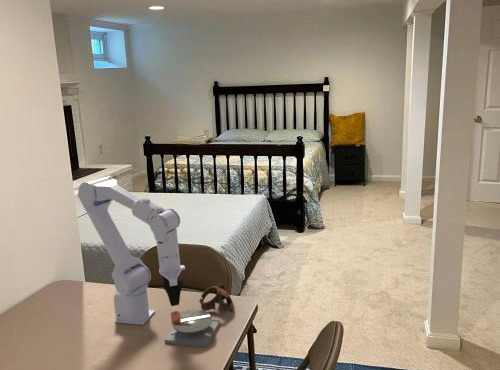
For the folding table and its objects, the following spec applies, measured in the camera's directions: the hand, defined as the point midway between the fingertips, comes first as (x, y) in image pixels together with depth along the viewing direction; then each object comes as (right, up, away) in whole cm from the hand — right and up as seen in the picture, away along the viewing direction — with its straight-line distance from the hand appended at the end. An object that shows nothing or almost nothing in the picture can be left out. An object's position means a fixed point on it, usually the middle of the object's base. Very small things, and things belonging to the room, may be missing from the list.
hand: (173, 298), depth 128 cm
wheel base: (+6, -10, 0) cm, 11 cm away
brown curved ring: (+12, -6, +13) cm, 19 cm away
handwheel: (+6, -8, -1) cm, 10 cm away
